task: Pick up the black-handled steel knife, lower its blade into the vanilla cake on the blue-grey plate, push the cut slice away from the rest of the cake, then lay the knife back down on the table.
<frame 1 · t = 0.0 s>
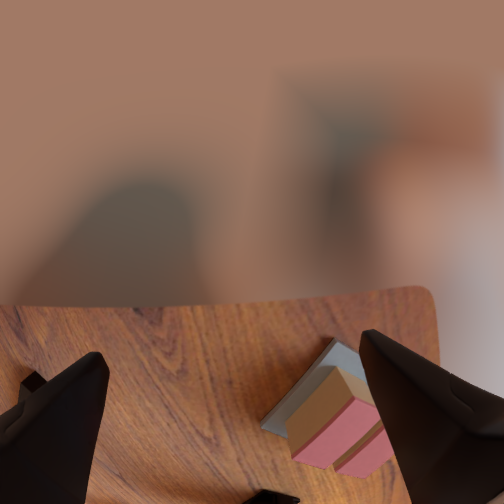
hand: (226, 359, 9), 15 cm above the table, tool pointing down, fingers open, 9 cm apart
knife: (32, 418, 26), on the table
cake slice: (324, 402, 25), point 1 cm above the table, touching cake plate
cake plate: (339, 405, 26), on the table
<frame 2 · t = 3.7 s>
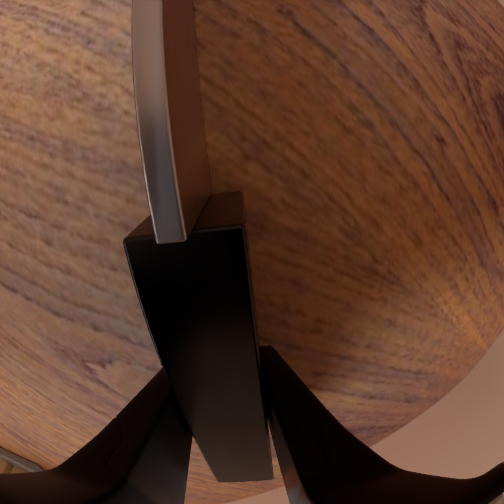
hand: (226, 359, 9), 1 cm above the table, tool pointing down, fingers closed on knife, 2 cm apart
knife: (198, 159, 7), on the table, touching gripper
cake plate: (32, 474, 18), on the table
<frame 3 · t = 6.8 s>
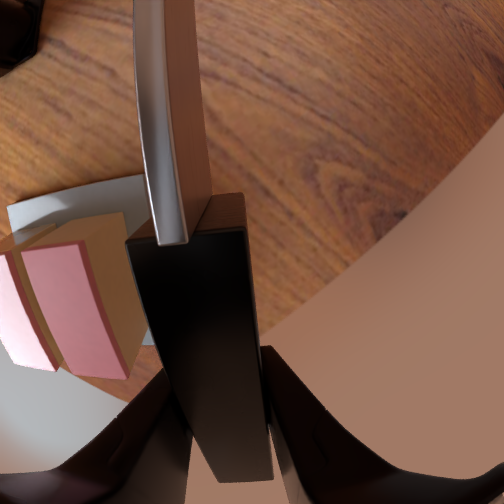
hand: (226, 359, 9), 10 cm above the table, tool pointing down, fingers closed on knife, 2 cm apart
knife: (199, 160, 7), point 9 cm above the table, touching gripper
cake slice: (110, 274, 17), point 1 cm above the table, touching cake plate
cake plate: (87, 269, 18), on the table
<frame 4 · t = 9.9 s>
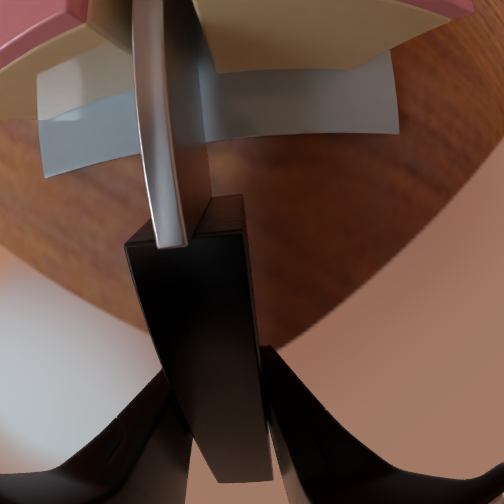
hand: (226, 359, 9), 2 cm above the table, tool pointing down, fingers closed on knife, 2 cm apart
knife: (199, 162, 7), point 1 cm above the table, touching gripper
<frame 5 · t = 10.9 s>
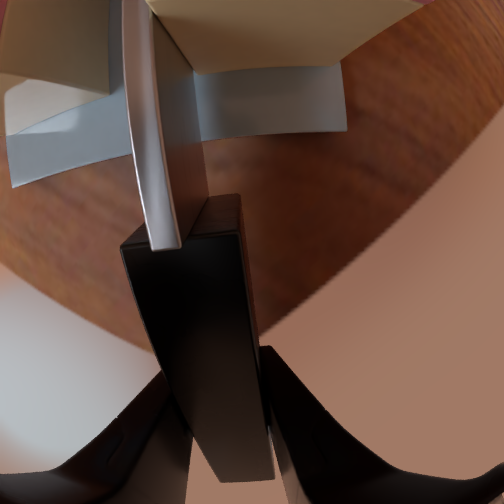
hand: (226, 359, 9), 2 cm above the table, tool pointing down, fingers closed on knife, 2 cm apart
knife: (195, 162, 7), point 2 cm above the table, touching cake slice, gripper
when the fingers open (1 cm above the table, at t = 16.1 s): knife stays where it is, on the table.
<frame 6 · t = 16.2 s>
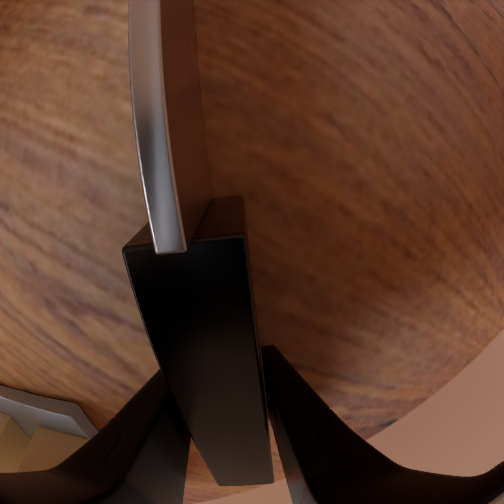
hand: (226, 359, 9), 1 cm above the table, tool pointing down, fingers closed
knife: (198, 163, 7), on the table
cake slice: (92, 464, 12), point 1 cm above the table, touching cake plate
cake plate: (54, 442, 13), on the table
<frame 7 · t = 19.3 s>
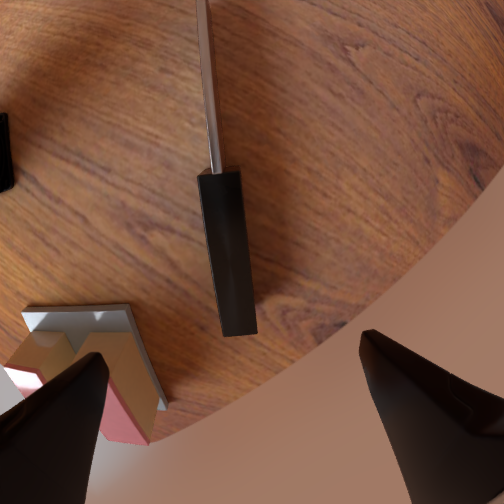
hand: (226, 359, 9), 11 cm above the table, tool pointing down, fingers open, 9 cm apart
knife: (220, 151, 17), on the table
cake slice: (126, 368, 22), point 1 cm above the table, touching cake plate
cake plate: (94, 359, 23), on the table
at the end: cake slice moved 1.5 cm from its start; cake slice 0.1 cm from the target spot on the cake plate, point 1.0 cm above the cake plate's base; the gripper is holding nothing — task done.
